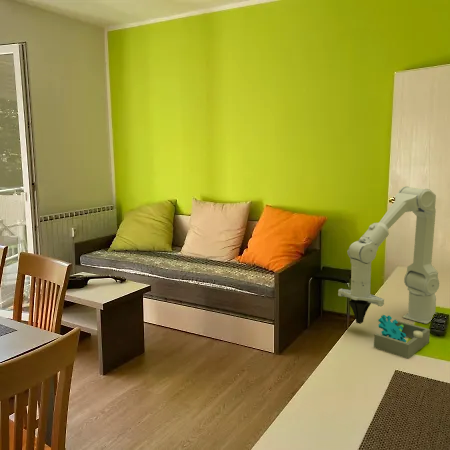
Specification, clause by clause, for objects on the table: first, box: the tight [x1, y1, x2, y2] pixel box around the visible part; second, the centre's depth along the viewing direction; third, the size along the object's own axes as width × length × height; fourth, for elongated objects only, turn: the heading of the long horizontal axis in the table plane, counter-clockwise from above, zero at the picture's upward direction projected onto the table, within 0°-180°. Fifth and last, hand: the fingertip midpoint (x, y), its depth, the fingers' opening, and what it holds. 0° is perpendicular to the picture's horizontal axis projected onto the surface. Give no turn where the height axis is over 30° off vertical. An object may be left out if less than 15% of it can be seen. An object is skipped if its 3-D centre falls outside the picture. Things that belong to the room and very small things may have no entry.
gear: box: [377, 314, 407, 343], centre depth 134 cm, size 11×6×10 cm
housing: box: [373, 319, 431, 359], centre depth 131 cm, size 14×11×5 cm
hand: (359, 322), depth 141 cm, fingers closed
